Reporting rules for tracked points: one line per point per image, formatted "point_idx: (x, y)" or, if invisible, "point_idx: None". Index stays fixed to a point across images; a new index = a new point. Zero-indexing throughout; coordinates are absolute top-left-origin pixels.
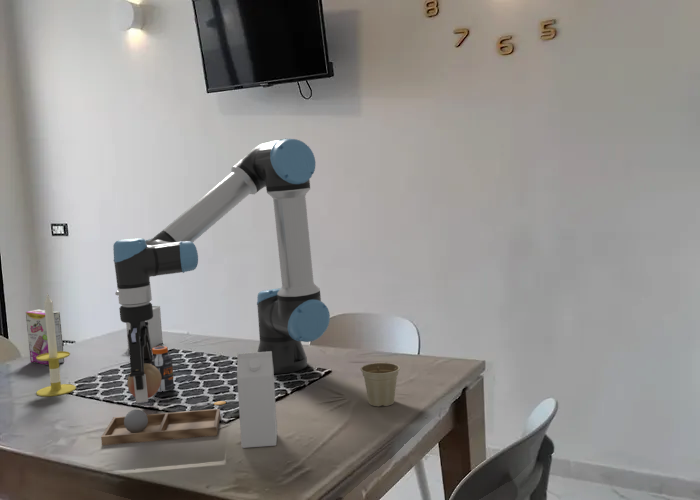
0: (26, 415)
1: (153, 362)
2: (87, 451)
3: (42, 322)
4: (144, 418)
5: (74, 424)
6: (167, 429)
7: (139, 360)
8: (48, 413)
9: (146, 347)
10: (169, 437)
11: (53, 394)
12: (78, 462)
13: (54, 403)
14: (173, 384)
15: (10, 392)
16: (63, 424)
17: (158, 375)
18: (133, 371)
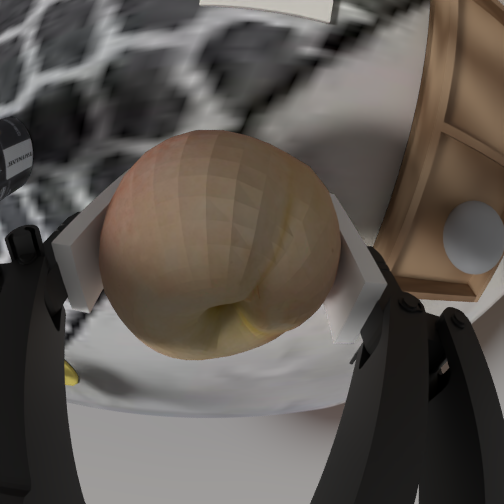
0: (179, 403)
1: (39, 231)
2: (459, 306)
3: None
4: (501, 220)
5: (276, 352)
6: (482, 139)
7: (490, 403)
8: (174, 385)
9: (31, 417)
10: None
11: (72, 372)
12: (485, 310)
13: (113, 375)
14: (3, 119)
15: (68, 399)
16: (264, 367)
17: (266, 159)
18: (438, 369)
